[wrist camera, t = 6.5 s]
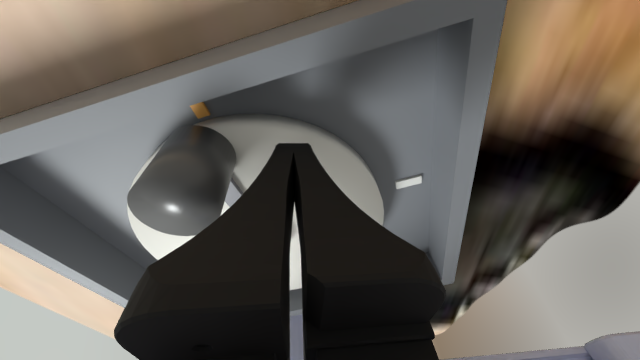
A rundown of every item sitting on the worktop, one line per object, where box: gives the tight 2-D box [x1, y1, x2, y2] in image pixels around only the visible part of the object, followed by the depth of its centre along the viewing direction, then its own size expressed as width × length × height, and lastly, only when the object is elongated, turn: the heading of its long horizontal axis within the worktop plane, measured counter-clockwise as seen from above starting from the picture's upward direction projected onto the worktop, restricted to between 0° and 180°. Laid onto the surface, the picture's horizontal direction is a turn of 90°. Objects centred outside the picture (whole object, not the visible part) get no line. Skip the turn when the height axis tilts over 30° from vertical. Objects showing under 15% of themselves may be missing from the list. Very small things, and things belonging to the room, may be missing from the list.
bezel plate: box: [0, 0, 507, 317], centre depth 16 cm, size 20×24×4 cm
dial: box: [127, 114, 384, 290], centre depth 15 cm, size 16×15×5 cm
